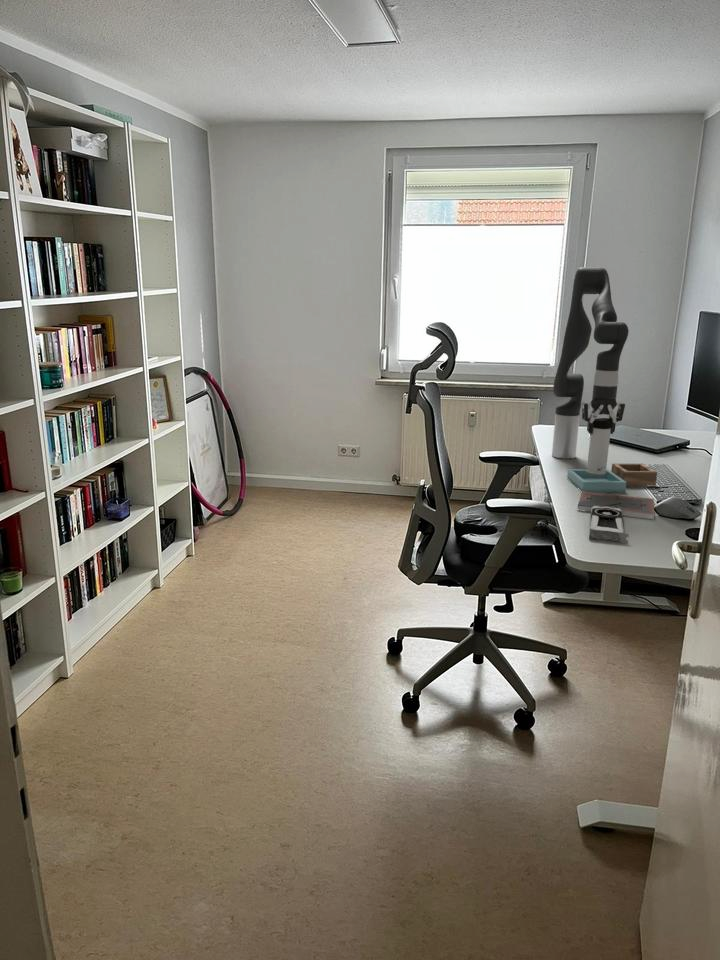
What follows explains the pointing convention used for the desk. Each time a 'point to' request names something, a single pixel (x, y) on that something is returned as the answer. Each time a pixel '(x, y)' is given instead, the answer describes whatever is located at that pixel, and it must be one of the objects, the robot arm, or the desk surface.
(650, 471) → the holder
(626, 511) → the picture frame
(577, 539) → the desk surface
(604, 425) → the travel mug
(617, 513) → the graphics card
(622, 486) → the tray
